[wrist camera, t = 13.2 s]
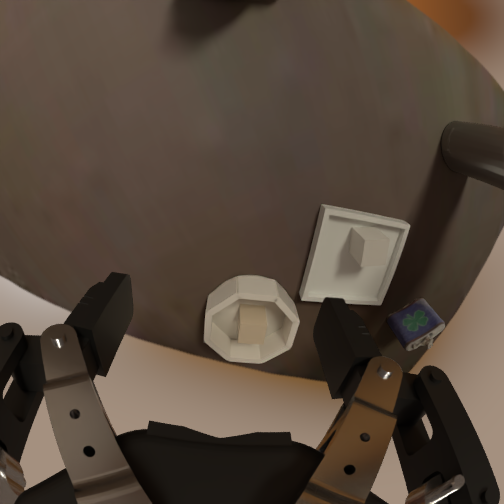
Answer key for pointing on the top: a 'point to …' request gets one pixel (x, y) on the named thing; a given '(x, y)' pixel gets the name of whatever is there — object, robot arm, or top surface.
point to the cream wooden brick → (252, 324)
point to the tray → (349, 258)
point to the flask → (415, 324)
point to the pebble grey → (368, 246)
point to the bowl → (227, 311)
